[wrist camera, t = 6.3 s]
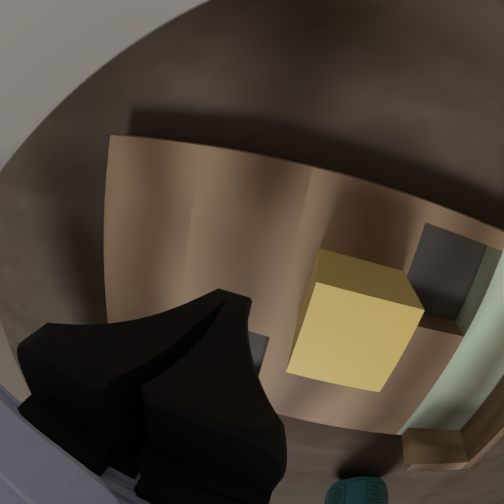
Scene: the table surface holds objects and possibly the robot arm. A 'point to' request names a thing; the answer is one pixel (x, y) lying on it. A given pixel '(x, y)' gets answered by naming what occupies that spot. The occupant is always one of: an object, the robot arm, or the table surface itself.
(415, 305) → the mustard block
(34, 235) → the table surface
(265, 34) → the table surface
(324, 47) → the table surface
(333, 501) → the beverage bottle
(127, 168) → the trap board
